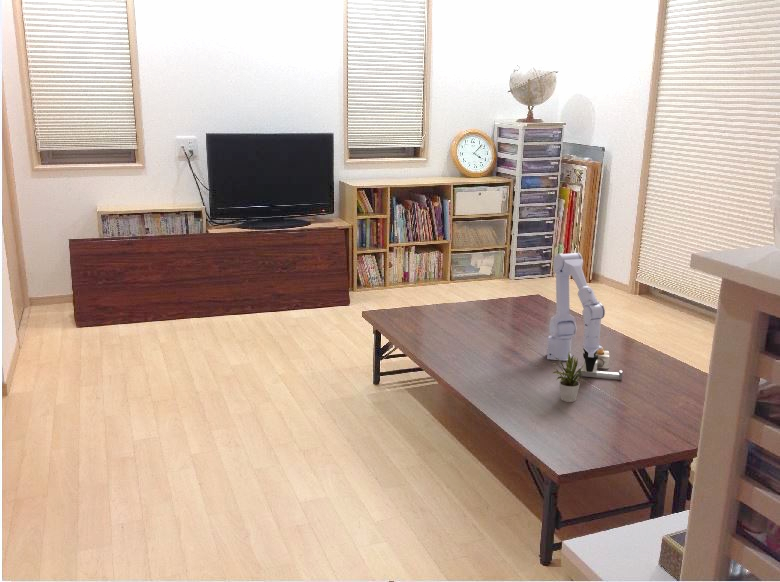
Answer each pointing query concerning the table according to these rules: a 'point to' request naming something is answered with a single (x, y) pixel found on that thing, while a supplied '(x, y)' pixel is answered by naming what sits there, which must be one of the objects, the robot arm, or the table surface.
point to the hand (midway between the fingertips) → (589, 368)
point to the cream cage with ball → (603, 360)
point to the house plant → (569, 379)
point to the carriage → (590, 374)
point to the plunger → (600, 351)
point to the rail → (605, 374)
